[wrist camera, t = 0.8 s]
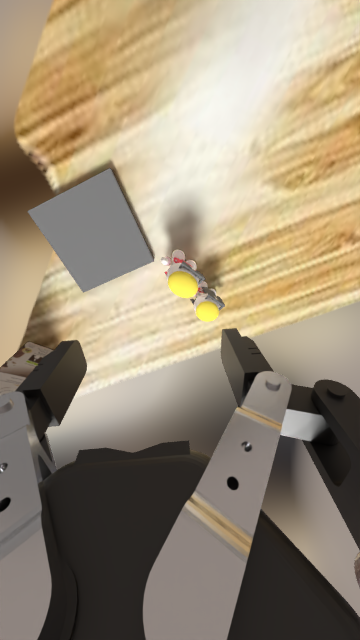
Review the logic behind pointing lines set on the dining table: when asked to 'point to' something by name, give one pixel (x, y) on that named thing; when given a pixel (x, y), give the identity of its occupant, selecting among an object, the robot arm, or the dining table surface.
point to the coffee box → (20, 366)
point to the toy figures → (192, 286)
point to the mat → (93, 231)
